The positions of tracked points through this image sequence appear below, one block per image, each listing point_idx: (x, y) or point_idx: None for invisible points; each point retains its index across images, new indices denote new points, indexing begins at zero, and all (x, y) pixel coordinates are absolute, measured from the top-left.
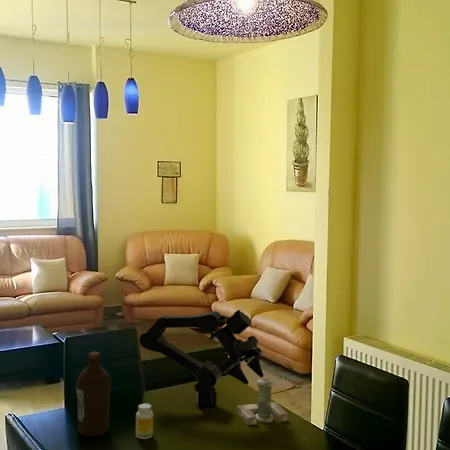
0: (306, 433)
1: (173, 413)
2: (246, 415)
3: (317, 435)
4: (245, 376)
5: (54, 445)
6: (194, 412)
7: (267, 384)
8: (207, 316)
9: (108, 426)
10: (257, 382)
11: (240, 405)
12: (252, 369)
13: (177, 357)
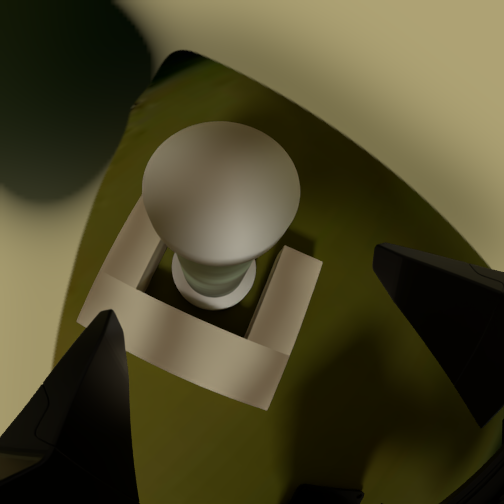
0: (189, 110)
1: (433, 479)
2: (312, 285)
3: (176, 90)
4: (425, 262)
5: None
6: (389, 472)
7: (254, 129)
8: None
9: None
10: (296, 211)
11: (253, 402)
12: (132, 473)
13: None
